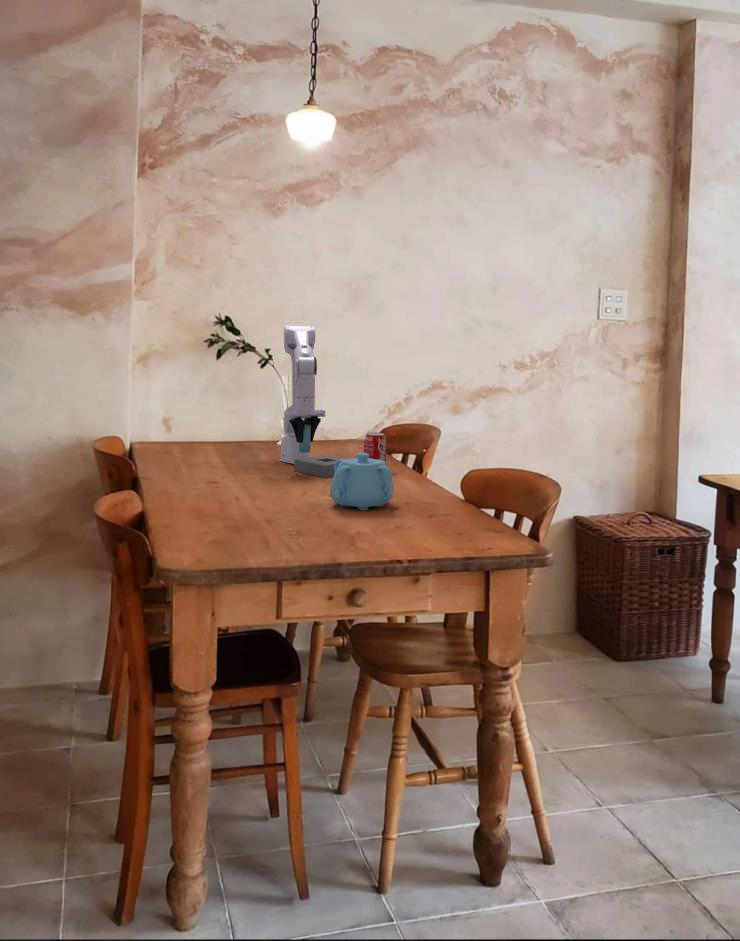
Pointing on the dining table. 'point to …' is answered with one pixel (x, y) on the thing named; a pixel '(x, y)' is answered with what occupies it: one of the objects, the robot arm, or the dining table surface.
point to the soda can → (375, 445)
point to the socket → (317, 465)
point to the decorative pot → (362, 482)
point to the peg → (305, 440)
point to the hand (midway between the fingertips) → (304, 441)
